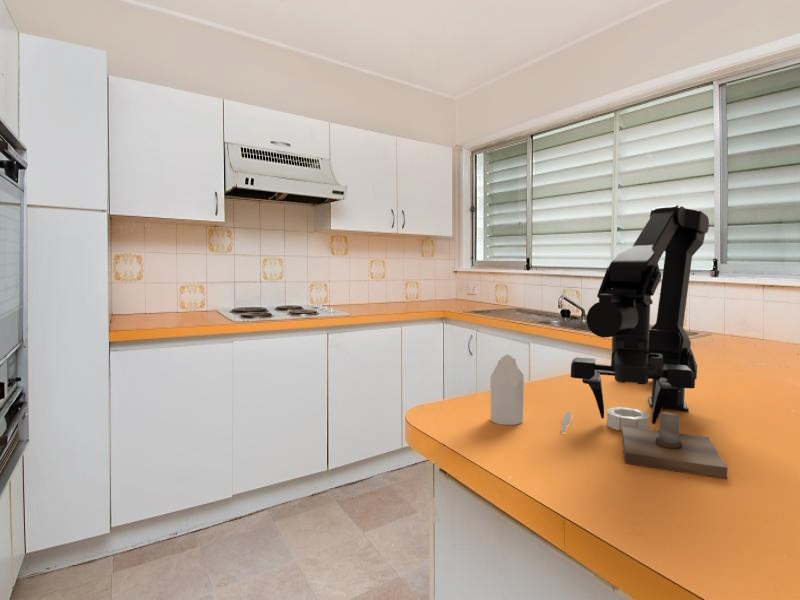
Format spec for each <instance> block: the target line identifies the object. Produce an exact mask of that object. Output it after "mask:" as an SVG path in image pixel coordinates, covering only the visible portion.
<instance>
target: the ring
mask: <svg viewBox="0 0 800 600" xmlns="http://www.w3.org/2000/svg"><path fill="white" fill-rule="evenodd" d="M606 412H607V413H606V414H607V415H606V425H607V427H608V426H609V427H608V428H610V427H611V428H610V429H613V430H615V429H616V430H615V431H617V430H618V431H617V432H621V431H622V426H624V427H632V428H640V429H648V430H650V429H649V428H650V416H649V413H648V412H646V411H643V410H640V409H637V408H630V407H624V406H623V407H622V406H620V407H619V406H617V407H610V408H607V410H606ZM619 430H621V431H619Z"/></svg>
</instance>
